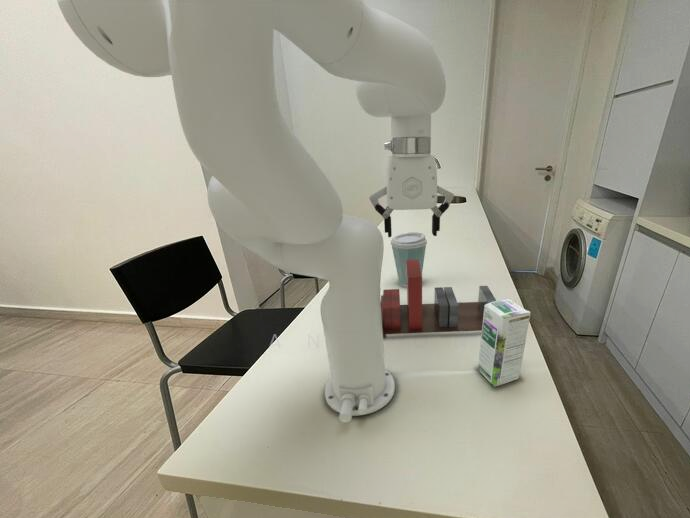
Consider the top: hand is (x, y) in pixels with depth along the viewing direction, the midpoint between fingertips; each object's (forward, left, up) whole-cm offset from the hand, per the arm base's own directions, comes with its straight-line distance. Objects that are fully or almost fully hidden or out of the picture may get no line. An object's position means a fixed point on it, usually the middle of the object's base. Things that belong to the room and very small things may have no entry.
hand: (412, 235), depth 71 cm
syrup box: (-21, -15, -22) cm, 34 cm away
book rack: (0, -6, -22) cm, 23 cm away
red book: (+1, 0, -21) cm, 21 cm away
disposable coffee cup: (+23, 0, -22) cm, 32 cm away
